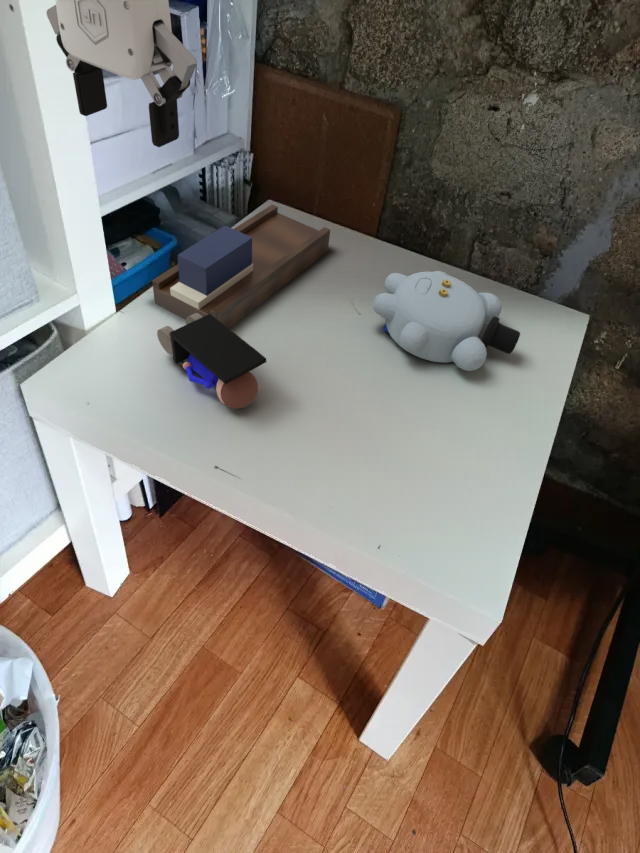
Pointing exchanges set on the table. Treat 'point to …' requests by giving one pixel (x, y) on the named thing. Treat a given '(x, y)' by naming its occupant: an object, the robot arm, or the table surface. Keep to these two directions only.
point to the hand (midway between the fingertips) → (129, 126)
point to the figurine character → (214, 358)
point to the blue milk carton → (212, 266)
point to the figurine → (443, 319)
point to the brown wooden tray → (254, 267)
